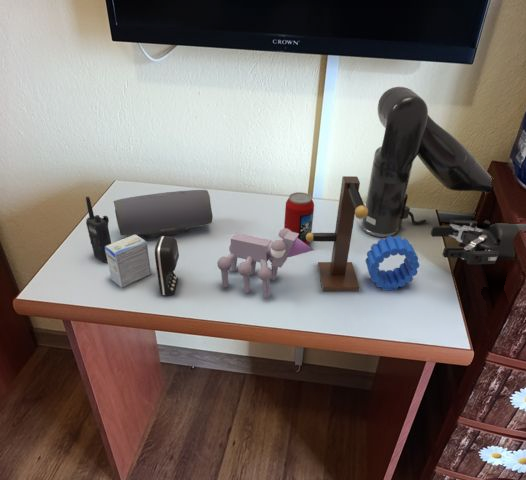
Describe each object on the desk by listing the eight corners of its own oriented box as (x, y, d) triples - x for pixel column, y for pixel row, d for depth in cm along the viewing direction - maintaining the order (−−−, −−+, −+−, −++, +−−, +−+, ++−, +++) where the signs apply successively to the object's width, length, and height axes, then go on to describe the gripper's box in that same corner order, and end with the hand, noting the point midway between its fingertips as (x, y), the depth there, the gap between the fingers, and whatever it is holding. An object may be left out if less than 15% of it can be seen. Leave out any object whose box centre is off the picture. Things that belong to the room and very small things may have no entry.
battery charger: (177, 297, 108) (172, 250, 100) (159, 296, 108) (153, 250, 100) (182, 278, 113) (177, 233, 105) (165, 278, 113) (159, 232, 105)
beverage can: (308, 251, 123) (313, 205, 115) (281, 247, 124) (283, 202, 116) (312, 237, 128) (316, 192, 120) (285, 234, 129) (288, 189, 120)
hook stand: (300, 266, 118) (309, 169, 102) (351, 266, 118) (367, 169, 103) (308, 311, 105) (319, 208, 89) (364, 311, 106) (385, 209, 90)
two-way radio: (91, 256, 119) (77, 196, 108) (106, 249, 121) (94, 189, 111) (105, 265, 116) (92, 204, 106) (121, 257, 119) (110, 197, 108)
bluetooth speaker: (205, 217, 134) (203, 181, 127) (213, 234, 128) (212, 197, 121) (118, 228, 128) (111, 191, 122) (122, 247, 122) (115, 209, 115)
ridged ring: (362, 277, 115) (370, 235, 108) (407, 277, 116) (417, 236, 108) (366, 290, 111) (374, 248, 104) (412, 290, 112) (424, 248, 105)
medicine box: (140, 266, 116) (135, 233, 110) (152, 274, 114) (147, 240, 108) (110, 280, 112) (103, 245, 106) (122, 288, 109) (115, 254, 104)
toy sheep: (315, 283, 113) (321, 228, 104) (301, 310, 105) (307, 254, 96) (232, 264, 117) (231, 210, 108) (214, 289, 110) (211, 234, 101)
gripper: (519, 275, 105) (442, 275, 104) (494, 240, 115) (424, 239, 114) (533, 243, 99) (453, 243, 99) (505, 209, 110) (432, 209, 109)
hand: (437, 241), depth 107 cm, fingers open, 8 cm apart
